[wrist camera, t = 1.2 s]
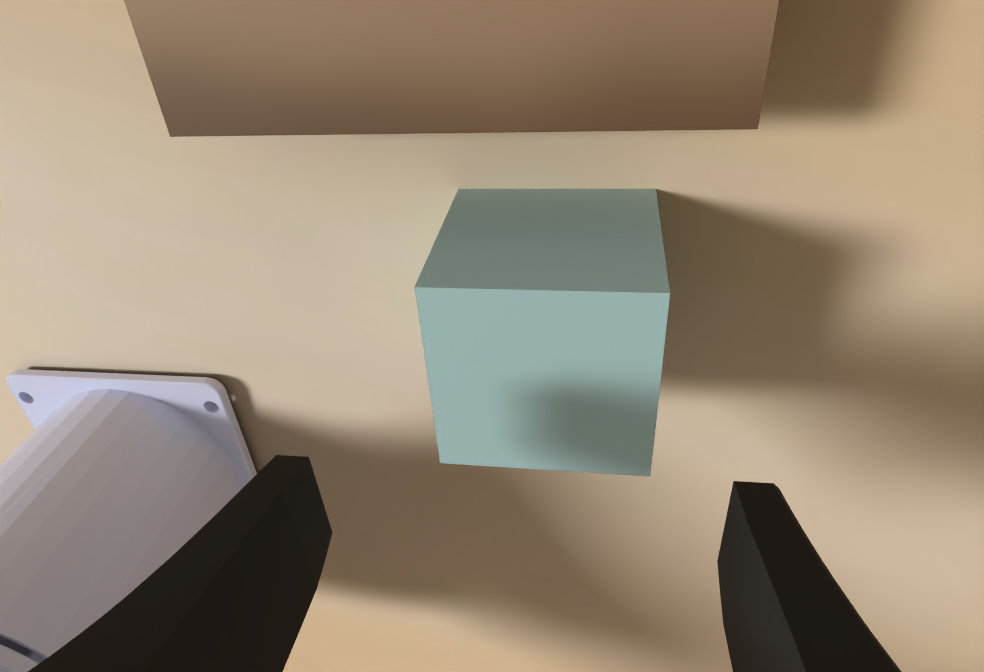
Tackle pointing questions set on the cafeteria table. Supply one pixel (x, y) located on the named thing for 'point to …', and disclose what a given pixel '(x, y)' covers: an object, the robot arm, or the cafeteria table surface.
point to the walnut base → (454, 65)
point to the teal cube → (546, 329)
